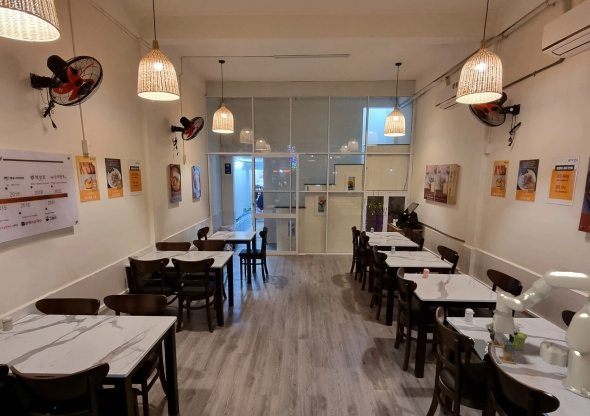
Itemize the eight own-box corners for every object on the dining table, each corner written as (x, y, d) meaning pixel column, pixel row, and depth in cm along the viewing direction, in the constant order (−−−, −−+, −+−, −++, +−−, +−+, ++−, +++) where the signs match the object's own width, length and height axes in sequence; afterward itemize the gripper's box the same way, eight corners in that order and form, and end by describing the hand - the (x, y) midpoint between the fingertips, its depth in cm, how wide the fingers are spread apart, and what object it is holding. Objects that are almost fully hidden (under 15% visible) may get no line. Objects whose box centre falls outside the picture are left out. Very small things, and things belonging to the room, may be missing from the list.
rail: (514, 352, 154) (515, 346, 154) (506, 351, 155) (506, 344, 155) (497, 332, 175) (497, 326, 175) (489, 332, 176) (490, 326, 176)
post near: (515, 364, 155) (517, 348, 154) (502, 362, 156) (503, 346, 156) (511, 359, 160) (512, 343, 159) (498, 357, 161) (499, 341, 160)
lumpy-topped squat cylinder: (544, 363, 156) (545, 348, 156) (535, 350, 168) (537, 337, 168) (568, 368, 152) (570, 353, 151) (558, 355, 164) (559, 341, 163)
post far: (502, 348, 170) (503, 333, 169) (490, 346, 172) (491, 332, 171) (498, 343, 175) (499, 329, 174) (487, 342, 177) (488, 328, 176)
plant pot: (508, 349, 169) (509, 335, 169) (505, 341, 178) (506, 328, 177) (527, 353, 165) (529, 339, 164) (523, 345, 173) (524, 332, 173)
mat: (501, 363, 155) (501, 362, 155) (483, 361, 157) (483, 360, 157) (483, 340, 178) (483, 339, 178) (468, 338, 181) (468, 337, 181)
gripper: (489, 314, 162) (487, 342, 164) (524, 318, 158) (521, 346, 159) (484, 308, 169) (482, 335, 171) (517, 312, 165) (515, 339, 167)
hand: (501, 340), depth 165 cm, fingers open, 9 cm apart
